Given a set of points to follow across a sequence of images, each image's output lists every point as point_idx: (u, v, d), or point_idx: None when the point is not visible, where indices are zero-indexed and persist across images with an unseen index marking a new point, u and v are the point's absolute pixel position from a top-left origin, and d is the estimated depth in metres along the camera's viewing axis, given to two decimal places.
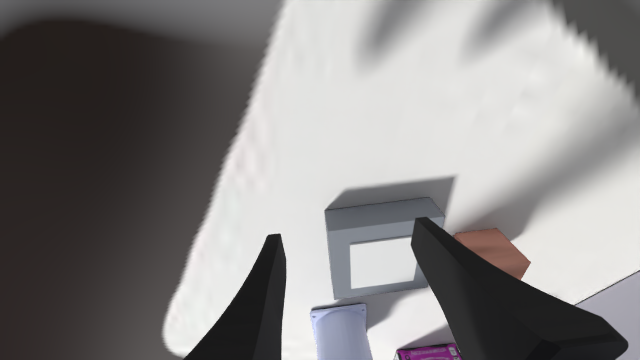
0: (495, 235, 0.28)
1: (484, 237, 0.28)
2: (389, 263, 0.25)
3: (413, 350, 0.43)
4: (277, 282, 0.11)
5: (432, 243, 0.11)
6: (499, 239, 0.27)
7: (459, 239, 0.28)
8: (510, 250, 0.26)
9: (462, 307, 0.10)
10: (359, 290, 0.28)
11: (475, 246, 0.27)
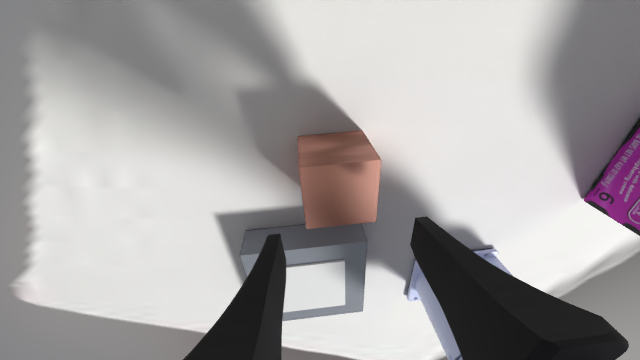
0: None
1: None
2: (308, 285, 0.23)
3: (603, 177, 0.23)
4: (277, 282, 0.11)
5: (432, 243, 0.11)
6: None
7: None
8: None
9: (462, 307, 0.10)
10: (353, 296, 0.25)
11: None
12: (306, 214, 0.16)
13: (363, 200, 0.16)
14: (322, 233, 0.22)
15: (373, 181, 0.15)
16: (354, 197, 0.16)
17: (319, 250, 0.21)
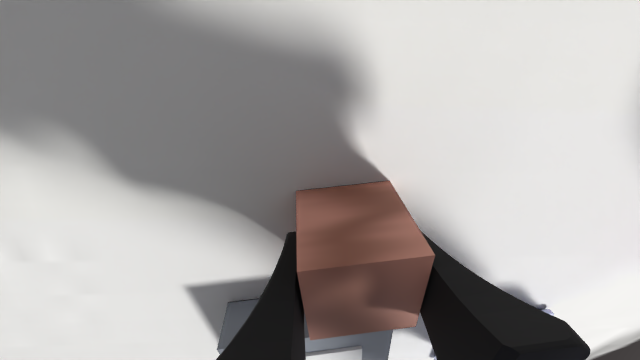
0: None
1: None
2: None
3: None
4: None
5: None
6: None
7: None
8: None
9: (436, 310, 0.09)
10: None
11: None
12: (310, 325, 0.11)
13: (399, 305, 0.10)
14: None
15: (418, 282, 0.10)
16: (385, 302, 0.10)
17: (328, 338, 0.15)
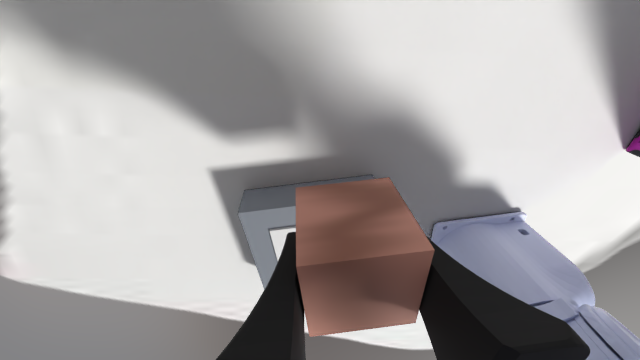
0: None
1: None
2: None
3: None
4: None
5: None
6: None
7: None
8: None
9: (436, 310, 0.09)
10: None
11: None
12: (309, 321, 0.11)
13: (399, 301, 0.10)
14: None
15: (418, 277, 0.10)
16: (385, 297, 0.10)
17: None
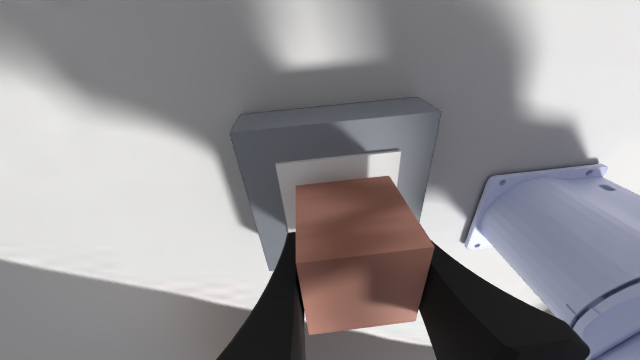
0: None
1: None
2: None
3: None
4: None
5: None
6: None
7: None
8: None
9: (436, 310, 0.09)
10: None
11: None
12: (309, 318, 0.11)
13: (398, 299, 0.10)
14: (363, 109, 0.14)
15: (418, 274, 0.10)
16: (384, 295, 0.10)
17: (362, 127, 0.13)
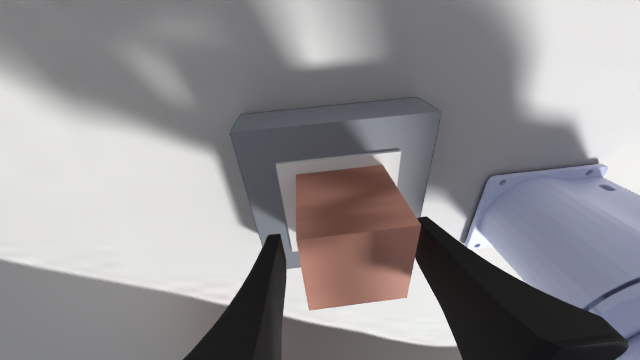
0: None
1: None
2: None
3: None
4: (277, 282, 0.11)
5: (432, 243, 0.11)
6: None
7: None
8: None
9: (462, 307, 0.10)
10: None
11: None
12: (309, 294, 0.12)
13: (390, 275, 0.11)
14: (363, 109, 0.14)
15: (407, 252, 0.10)
16: (377, 271, 0.11)
17: (362, 127, 0.13)
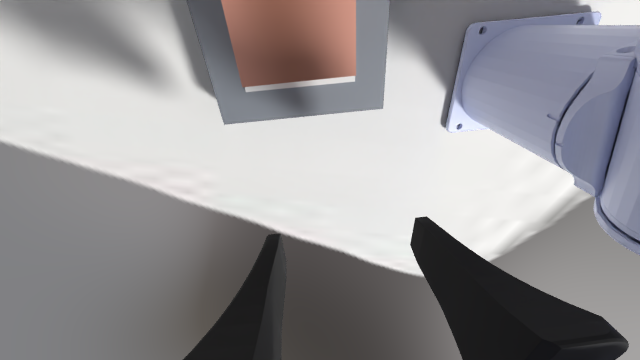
0: None
1: None
2: None
3: None
4: (277, 282, 0.11)
5: (432, 243, 0.11)
6: None
7: None
8: None
9: (462, 307, 0.10)
10: (369, 63, 0.15)
11: None
12: (237, 52, 0.10)
13: (331, 24, 0.10)
14: None
15: None
16: (314, 13, 0.09)
17: None
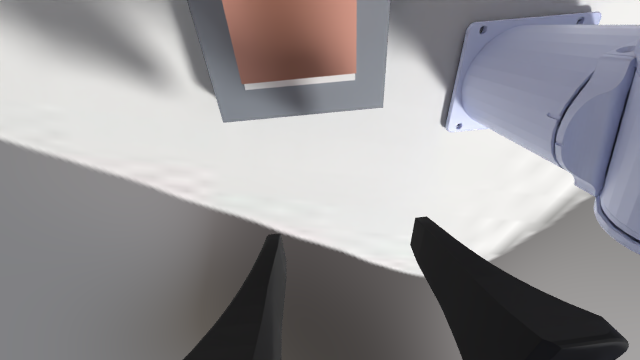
0: None
1: None
2: None
3: None
4: (277, 282, 0.11)
5: (432, 243, 0.11)
6: None
7: None
8: None
9: (462, 307, 0.10)
10: (369, 61, 0.15)
11: None
12: (236, 49, 0.10)
13: (331, 21, 0.10)
14: None
15: None
16: (314, 10, 0.09)
17: None
